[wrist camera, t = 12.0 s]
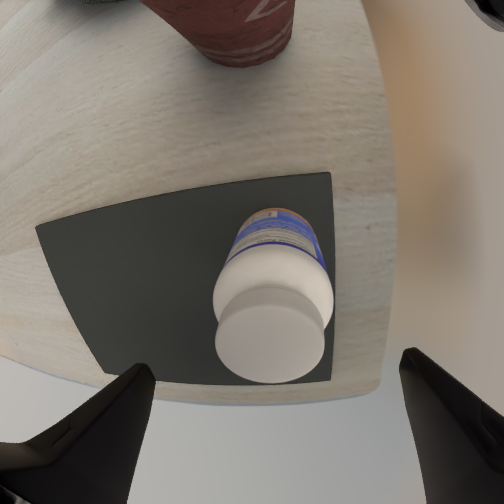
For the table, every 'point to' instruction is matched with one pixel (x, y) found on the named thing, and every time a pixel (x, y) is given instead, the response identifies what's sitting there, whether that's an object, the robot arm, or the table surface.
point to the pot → (98, 1)
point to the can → (230, 27)
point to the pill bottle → (273, 299)
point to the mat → (173, 273)
